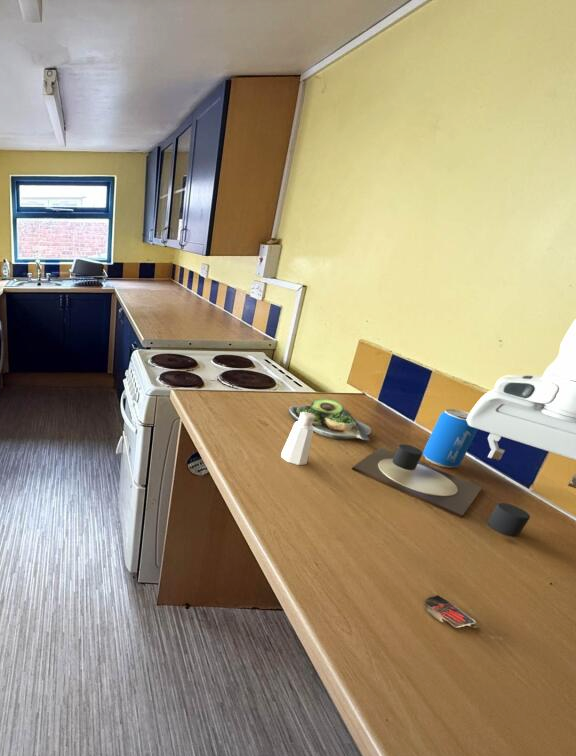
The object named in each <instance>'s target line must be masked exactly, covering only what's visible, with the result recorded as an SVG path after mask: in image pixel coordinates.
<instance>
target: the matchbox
mask: <svg viewBox="0 0 576 756" xmlns="http://www.w3.org/2000/svg"><path fill="white" fill-rule="evenodd" d="M423 603H424V604H426V606H425V607H424V608H425V609H424V610H425V611H427V613H428V614H429V615H430V616H432V617H433V618H435V619H436V620H437V621H439V622H441V623H444V621H445V622H446V623H448V624H449V625H451V626H452V627H454V628H458V629H459V628H461V627H465V626H468V627H471V628H473V629H477V628H478V627H479V624H476V623H477V621H476V620H475V619H474V618H472V617H471V616H469V615H468V613H466V612H464V611H462V610H461V609H459V608H458V607H457V606H456V605H455V604H454V603H453V602H451V601H449V600H447V599H445V598H443V597H442V596H440V595H439V594H435V595H432V596H428V597H427V598H426V599H425V600H424V601H423Z"/></svg>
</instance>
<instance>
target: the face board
mask: <svg viewBox="0 0 576 756" xmlns="http://www.w3.org/2000/svg"><path fill="white" fill-rule="evenodd" d="M395 454H396V452H395V451H394V452H393V451H391V450H389V449H386V448H383V447H378V448H377V449H375V450H373V452H371V453H370V454H368V455H367V456H366V457H364V458H362V460H360V461H359V462H358V463H356V464H355V465H353V466H352V467H351V470H353V471H354V472H357V473H359V474H361V475H364V476H366V477H368V478H370V479H373V480H375V481H377V482H379V483H382V484H384V485H386V486H389V487H391V488H393V489H395V490H397V491H400V492H402V493H404V494H407V495H409V496H411V497H413V498H415V499H418V500H419V501H420V500H421V501H422V502H425V503H426V504H429V505H432V506H433V507H436V508H438V509H441V510H443V511H445V512H447V513H450V514H452V515H453V516H456V517H458V518H463V517H464V515H465V514H466V512H467V511H468V510H469V508H470V507H471V505H472V504H473V502H474V501H475V499H476V498H477V496H478V495H479V494H480V492H481V491H482V490H483V486H481V485H479V484H476V483H474V482H470V481H468V480H465V479H463V478H460V477H457V476H455V475H452V474H450V473H448V472H446V471H442V470H440V469H437V468H434V467H432V466H430V465H427V464H425V463H421V462H420V461H419V462H418V464H417V466H416V468H415V469H414V470H407V469H403V468H401V467H398V466H397V465H395V464H394V463H393V462H392V461H393V458H394V456H395Z"/></svg>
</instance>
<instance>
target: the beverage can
mask: <svg viewBox="0 0 576 756" xmlns="http://www.w3.org/2000/svg"><path fill="white" fill-rule="evenodd" d="M469 413H470V412H467V411H464V410H459V409H455V408H446V409H445V410H444V411H443V412H441V413H440V414H439V416H438V419H437V421H436V423H435V425H434V427H433V429H432V432H431V433H430V436H429V438H428V440H427V442H426V445H425V447H424V449H423V451H422V455H423V457H424V458H425V460H427V461H428V462H429V463H431V464H434V465H435V466H439V467H443V468H447V469H452V468H458V467H460V466H461V464H462V462H463V460H464V458H465V456H466V453H467V452H468V450H469V448H470V446H471V444H472V443H473V440H474V438H475V436H476V434H477V432H478V430H479V429H477V428H474V427H471V426H469V425H468V423H467V421H466V419H467V417H468V415H469Z"/></svg>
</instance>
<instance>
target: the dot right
mask: <svg viewBox="0 0 576 756" xmlns="http://www.w3.org/2000/svg"><path fill="white" fill-rule="evenodd" d="M530 518H531V515H530V514H529V513H528V512H527V511H525V510H524V509H522V508H521V507H518V506H515V505H513V504H510V503H504V502H499V503H497V504H496V506H495V508H494V509H493V511H492V513H491V515H490V517H489V518H488V519H487V525H488V526H489V527H490V528H491V529H493V530H495V531H496V532H498V533H501V534H503V535H506V536H510V537H519V535H520V534H521V533H522V532H523V530H524V528H525V526H526V525H527V523H528V521H529V519H530Z"/></svg>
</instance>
